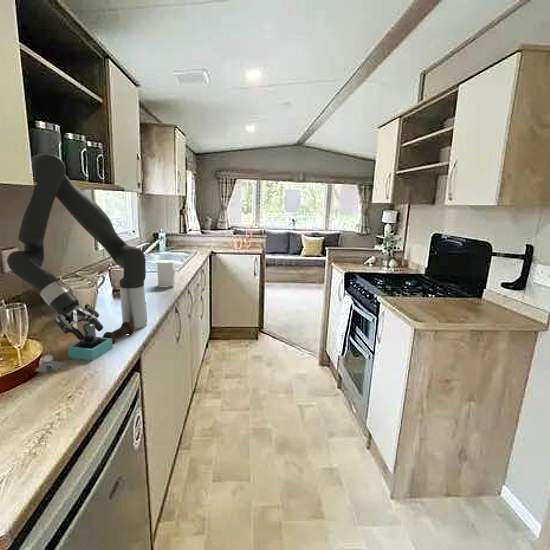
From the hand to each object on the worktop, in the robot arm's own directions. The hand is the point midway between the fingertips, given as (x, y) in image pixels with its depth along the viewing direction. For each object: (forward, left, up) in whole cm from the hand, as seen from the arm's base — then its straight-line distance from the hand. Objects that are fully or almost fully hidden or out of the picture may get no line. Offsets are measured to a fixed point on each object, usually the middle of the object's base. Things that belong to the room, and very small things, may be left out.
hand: (93, 334), depth 122 cm
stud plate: (+12, -7, -8) cm, 16 cm away
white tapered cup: (-97, -25, -8) cm, 101 cm away
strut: (0, -1, -7) cm, 7 cm away
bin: (0, -1, -8) cm, 8 cm away
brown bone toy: (-14, -3, -9) cm, 17 cm away
